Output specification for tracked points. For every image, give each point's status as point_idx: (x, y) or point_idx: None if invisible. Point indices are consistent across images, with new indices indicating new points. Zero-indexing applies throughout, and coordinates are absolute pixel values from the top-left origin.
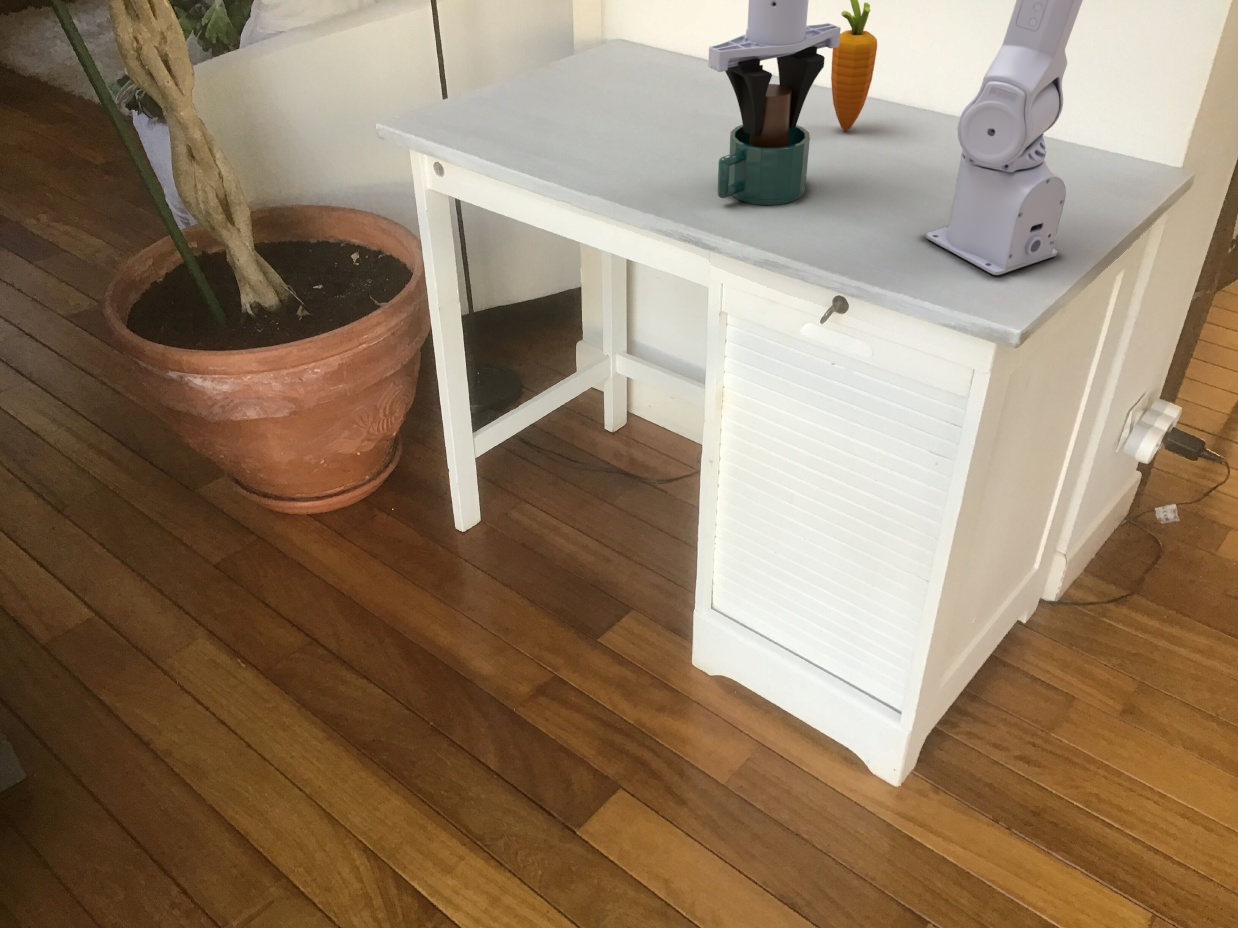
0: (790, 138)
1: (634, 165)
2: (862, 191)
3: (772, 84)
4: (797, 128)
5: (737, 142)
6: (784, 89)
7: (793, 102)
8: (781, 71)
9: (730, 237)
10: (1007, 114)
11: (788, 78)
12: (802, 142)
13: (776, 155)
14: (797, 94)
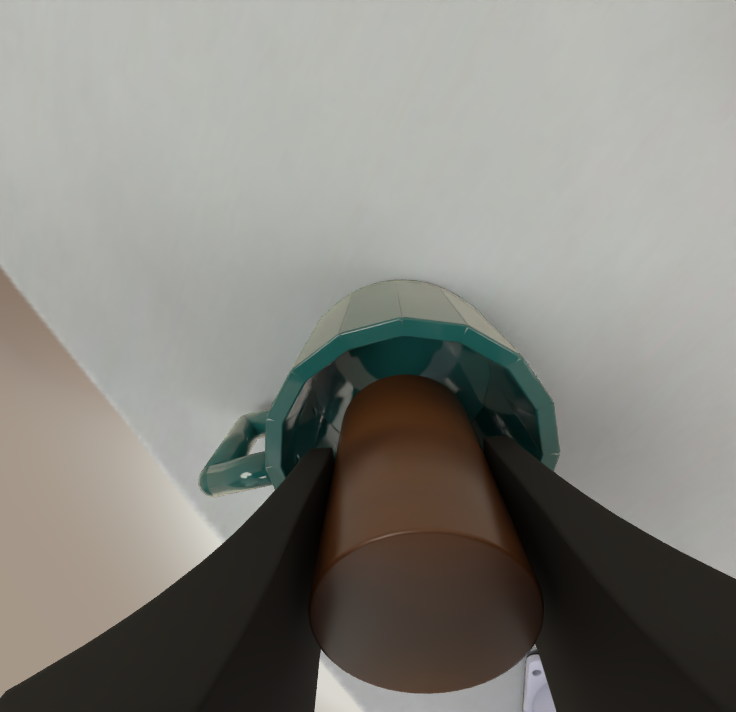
0: (519, 399)
1: (100, 7)
2: (587, 474)
3: (491, 556)
4: (541, 446)
5: (269, 468)
6: (496, 640)
7: None
8: (601, 627)
9: (222, 524)
10: None
11: (579, 657)
12: None
13: None
14: (543, 646)
